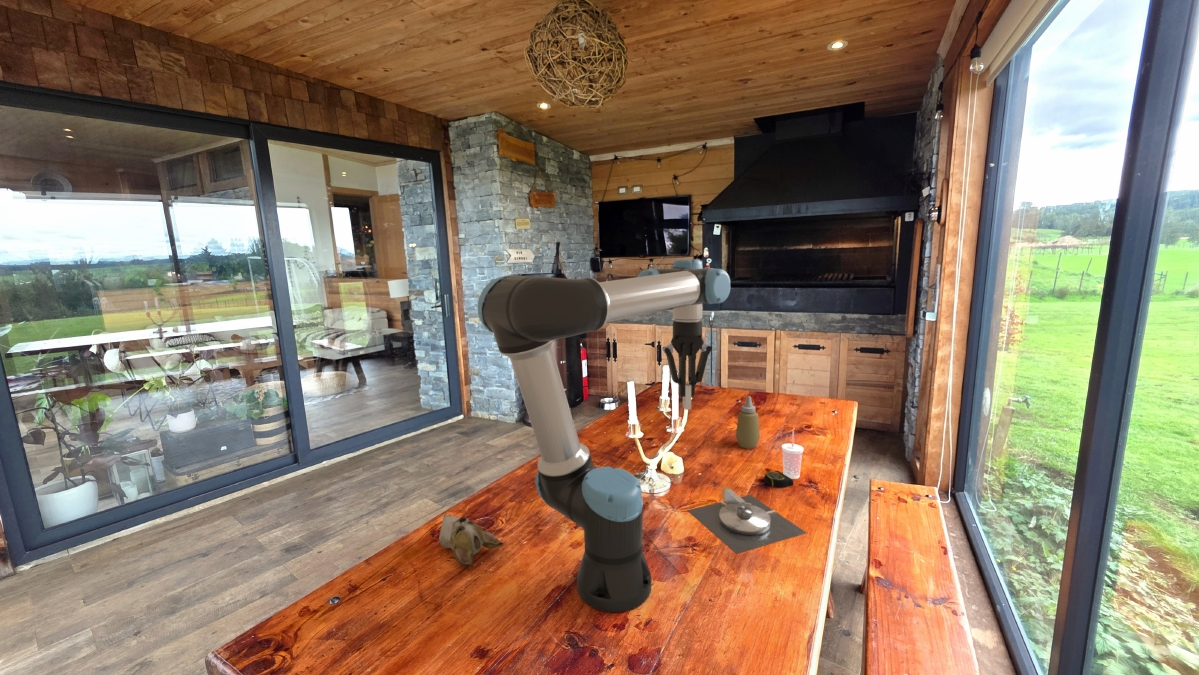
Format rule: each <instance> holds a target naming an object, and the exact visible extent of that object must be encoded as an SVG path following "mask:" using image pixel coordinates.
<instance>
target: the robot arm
mask: <svg viewBox="0 0 1199 675" xmlns="http://www.w3.org/2000/svg"><path fill="white" fill-rule="evenodd" d="M731 289H732V288H731V278H730V275H729V274H728V273H727V271H726V270H724V269H722V268H713V267H710V268H703V262H702V260H700V259H675V260H674V261H673V263H672V267H671V268H669V267H668V268H666V267H665V268H653V267H652V268H649V269H644V270H642V271H640V273H638V275H637V277H628V278H622V279H614V280H607V281H601V282H600V281H598V280H597V279H594V278H593V277H592V278H590V277H587V278H579V279H578V278H561V277H560V278H559V277H552V276H551V277H550V276H544V275H543V276H542V275H541V276H540V275H537V276H534V275H530V276H529V275H517V274H511V275H506V276H500V277H496V278H494V279H493V280H491V281H490V282H489V283H487V284H486V285H485V286H484V288H483V289H482V291H481V293H480V295H479V297H478V300H477V315H478V318H479V320H480V323H481V324H482V326H484V327H485V329H487V331H489V332H491V333H493V336H494V339H495V341H496V345H497V348H498V351H499V353H500V354H501V355H504V356H505V357H508V358H509V359H510V363H511V365H512V369H513V372H514V375H515V378H516V381H517V384H518V387H519V390H520V393H521V397H522V400H523V402H524V405H525V409H526V413H527V415H528V419H529V421H530V424H531V427H532V428H531V429H532V430H533V434H534V437H535V439H536V443H537V445H538V450H539V452H540V457H539V458H538V461H537V474H535V482H534V483H535V488H536V492H537V493H538V495H539V497H540V498H541V500H543V501H544V503H545V504H546V505H548V506H549V508H551V509H553V510H554V511H557V512H558V513H559V514H561V515H563V516H564V517H566V518H568V520H570V521H572V522H573V523H574V524H576V525H577V526H579V527H581V529H582V530H583V535H584V536H583V537H584V539H583V543H584V552H583V556H582V558H581V561H580V565H579V569H578V570H577V575H576V587H577V588H576V589H577V594H578V597H580V599H581V600H582V601H583V602H584V603H585V604H586V605H587V606H590V607H591V608H592V609H595V610H598V611H601V612H605V613H606V612H607V613H622V612H628V611H631V610H634V609H636V608H637V607H639V606H642V604H644V603H645V602H646V601H647V600H648V598H649V597H650V594H651V591H652V573H651V571H650V568H649V566H648V562H647V560H646V557H645V554H644V552H643V518H644V517H643V513H644V512H643V506H644V505H643V503H644V499H643V496H642V495H643V494H642V487H641V483H640V482H639V480H638V479H637V478H636V476H635V475H633V474H632V473H631V472H629V471H628V470H625V469H623V468H619V467H615V468H613V467H612V466H601V467H595V466H594V463H593V460H592V456H591V453H590V450H589V448H588V446H586V444H583V443H581V442H580V439H579V436H578V433H577V429H576V426H575V422H574V419H573V415H572V412H571V409H570V406H569V402H568V397H567V394H566V391H565V388H564V387H565V386H564V384H563V381H562V377H561V374H560V370H559V367H558V364H557V363H558V362H557V359H556V356H555V353H554V349H553V343H555V342H554V341H557V340H561V339H567V338H570V337H574V336H578V335H583V334H587V333H591V332H595V331H596V332H597V331H599V330H601V329H602V328H604V326H605V324H606V323H607V324H608V323H611V322H615V321H616V322H617V321H621V320H625V319H629V318H630V319H631V318H635V317H640V316H645V315H649V314H655V313H658V312H665V311H668V310H672V319H673V321H672V338H671V341H670V343H669V344H668V345H667V346H663V347H662V351H663V353H664V354H665V357H666V359H667V363H668V368H669V372H670V376H671V380H672V382H674V383H675V384H678V393H679V394H678V395H679V396H680V397H681V398H682V408H683V409H684V410H687V411H688V410H692V397H695V394H696V392H695V391H696V385H697V383H701V382H702V381H703V379H704V375H705V374H704V373H705V369H706V366H707V362H708V357H709V355H710V353H711V352H712V351H713V347H712V346H711V345H708V344H707V343H705V340H704V339H703V322H702V319H703V304H709V305H712V304H713V305H714V304H722V303H724V302H725V301H726V300H727V299H728V298H729V296H730V292H731ZM700 350H701V352H700V354H699V360H698V363H697V367H696V359H697V353H698V352H699V351H700ZM674 351H675V352H676V353H677V354H678V355H677V356H678V371H677V366H676V362H675V359H674V355H673V353H674ZM687 358H688V360H687ZM687 361H688V362H687ZM687 364H688V365H687ZM687 366H688V367H687ZM687 368H688V369H687ZM687 370H688V371H687ZM687 373H688V375H687ZM687 380H688V382H687Z"/></svg>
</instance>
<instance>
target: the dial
mask: <svg viewBox="0 0 1199 675" xmlns="http://www.w3.org/2000/svg"><path fill="white" fill-rule="evenodd" d="M741 497H742V496H739V494H737V493H736V492H735V491H733V489H732V488H730V487H729V486H722V487H721V499H722V500H724V501H726V502H727V503H728V505H726V506H724V507H722V508H721V509H720V512H719V520H720V523H721V524H722V525H723V526H724V527H725V528H727V529H728V530H730V531H733V532H735V533H739V534H744V535H758V534H762V533H764V532H766V531H768V529H769V528H770V516H769V514H768V513H767V512H766V511H764V510H763V509H761V508H759V507H757V506H754V505H750V504H745V501H744V500H743V499H742V498H741Z"/></svg>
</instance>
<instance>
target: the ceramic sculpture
mask: <svg viewBox="0 0 1199 675" xmlns="http://www.w3.org/2000/svg"><path fill="white" fill-rule="evenodd" d="M438 541H439V544H440V545H441V547H442V548H444V549H451V550H452V555H453V557H454V558H455V560H456V561H457V562H458V564H459V565H461V566H464V567H468V568H469V567H473V562H474V559H475V558H474V555H475V554H477V553H479V552H480V550H481V549H482V547H484V548H486V549H489V550H490V549H496V548H499V547H502V546H503V545H504V543H503V541H500V540H499V539H498V538H497V537H496V536H495V535H494V533H491V532H490V531H489V530H483V529H482V526H481V525H479V524H477V523H476V522H475V521H472V520H471V521H470V520H469V518H467V517H458V516H455V515H448V514H447V513H446V514H444V515H443V518H442V520H441V525H440V531H439V537H438Z"/></svg>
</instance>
